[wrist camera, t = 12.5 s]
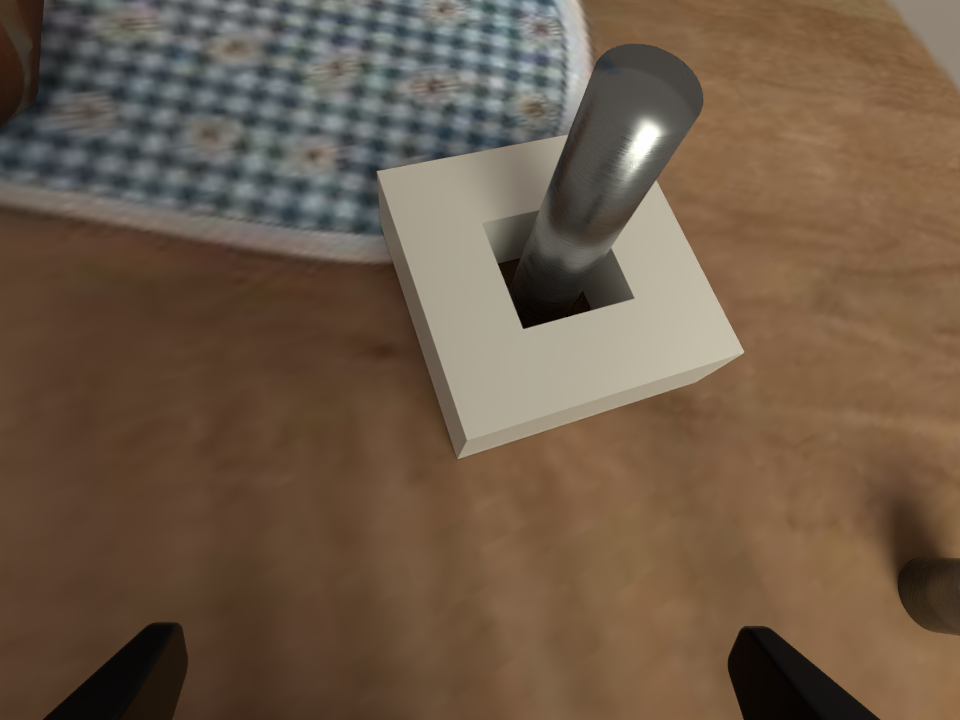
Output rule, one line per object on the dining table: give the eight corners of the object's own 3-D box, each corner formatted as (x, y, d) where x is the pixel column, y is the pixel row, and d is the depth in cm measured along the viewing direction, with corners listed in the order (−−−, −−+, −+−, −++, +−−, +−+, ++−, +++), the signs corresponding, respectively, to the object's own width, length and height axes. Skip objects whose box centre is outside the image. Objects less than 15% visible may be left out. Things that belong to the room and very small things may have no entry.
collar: (695, 382, 26) (744, 352, 22) (457, 459, 23) (467, 440, 20) (598, 178, 29) (626, 123, 26) (380, 225, 27) (376, 171, 23)
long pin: (579, 306, 27) (724, 97, 14) (536, 344, 26) (654, 152, 14) (536, 264, 27) (642, 27, 15) (493, 299, 26) (569, 76, 14)
